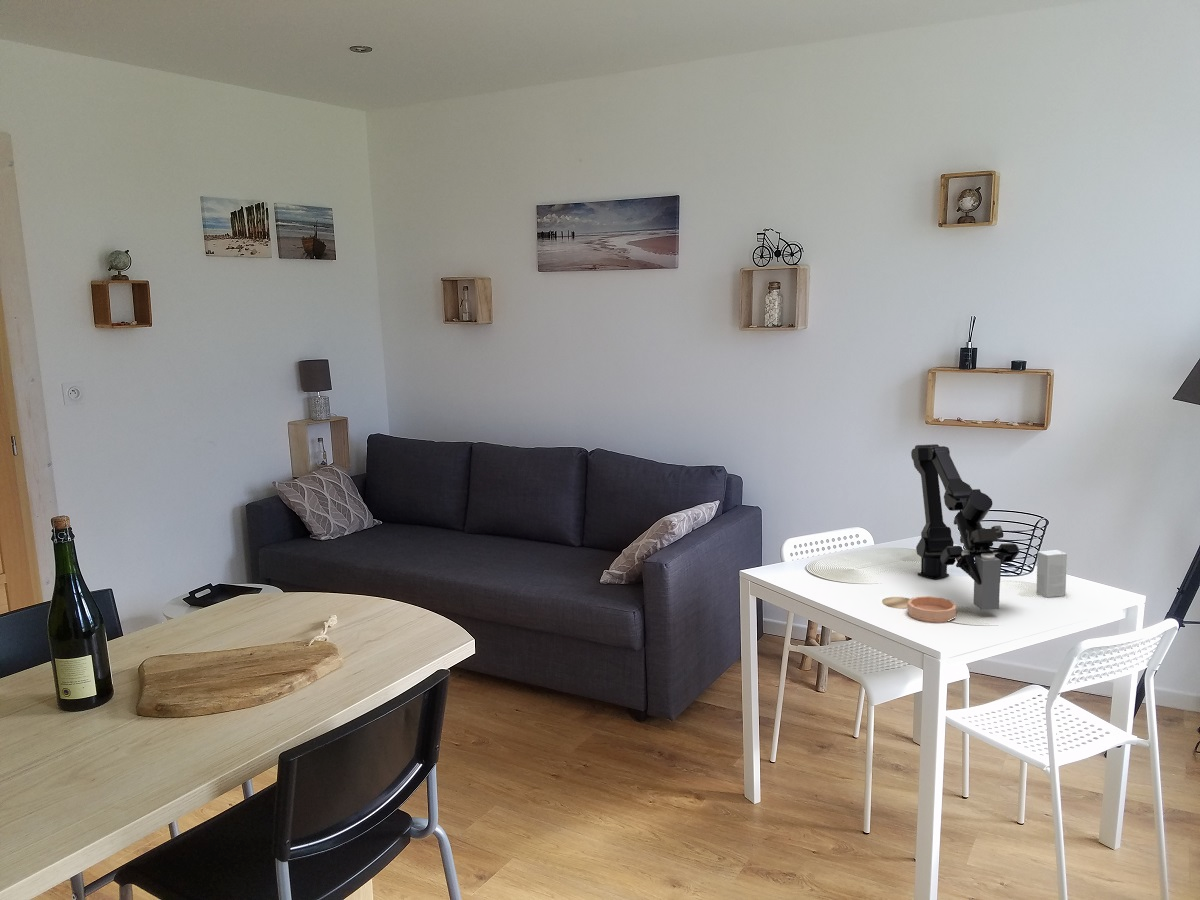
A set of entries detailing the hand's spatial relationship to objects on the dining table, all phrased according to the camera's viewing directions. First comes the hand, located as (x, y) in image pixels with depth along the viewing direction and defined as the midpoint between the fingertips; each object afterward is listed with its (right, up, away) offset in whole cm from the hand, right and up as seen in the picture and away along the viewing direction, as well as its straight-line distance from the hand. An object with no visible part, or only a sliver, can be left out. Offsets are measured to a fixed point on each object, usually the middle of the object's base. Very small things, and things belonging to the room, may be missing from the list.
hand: (989, 583), depth 218 cm
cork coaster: (-18, -8, +14) cm, 24 cm away
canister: (0, -6, +2) cm, 7 cm away
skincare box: (+24, -6, +16) cm, 29 cm away
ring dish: (-13, -9, +4) cm, 16 cm away
